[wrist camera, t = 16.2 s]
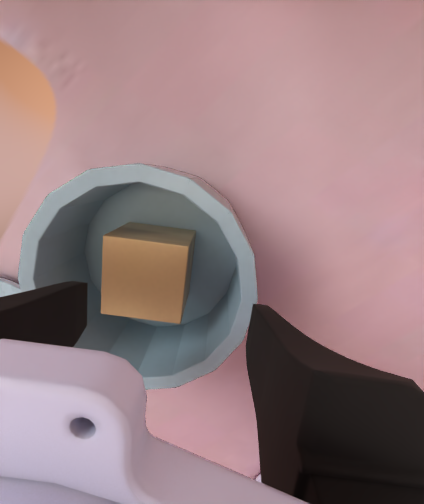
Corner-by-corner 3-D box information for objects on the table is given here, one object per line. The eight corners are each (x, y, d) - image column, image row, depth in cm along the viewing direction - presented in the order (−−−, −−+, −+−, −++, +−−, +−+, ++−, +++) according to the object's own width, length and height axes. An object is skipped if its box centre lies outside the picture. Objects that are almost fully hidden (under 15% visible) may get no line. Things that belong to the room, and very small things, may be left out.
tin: (218, 350, 22) (217, 413, 16) (65, 308, 21) (7, 357, 15) (270, 198, 19) (291, 208, 13) (93, 145, 18) (34, 131, 12)
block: (189, 292, 20) (180, 324, 16) (125, 284, 20) (100, 314, 16) (196, 230, 19) (189, 246, 15) (129, 221, 19) (102, 235, 15)
